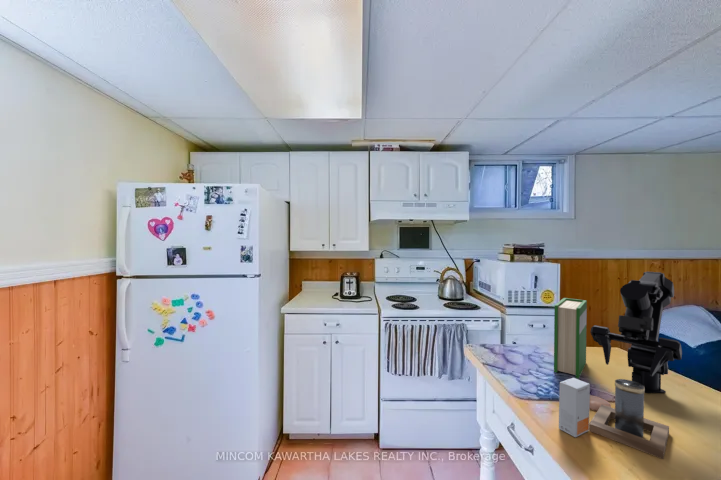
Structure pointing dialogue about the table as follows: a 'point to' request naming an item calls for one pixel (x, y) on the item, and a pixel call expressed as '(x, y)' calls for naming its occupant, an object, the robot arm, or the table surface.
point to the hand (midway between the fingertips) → (628, 369)
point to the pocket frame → (651, 446)
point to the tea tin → (629, 407)
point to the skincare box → (574, 406)
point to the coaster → (597, 403)
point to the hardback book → (570, 336)
